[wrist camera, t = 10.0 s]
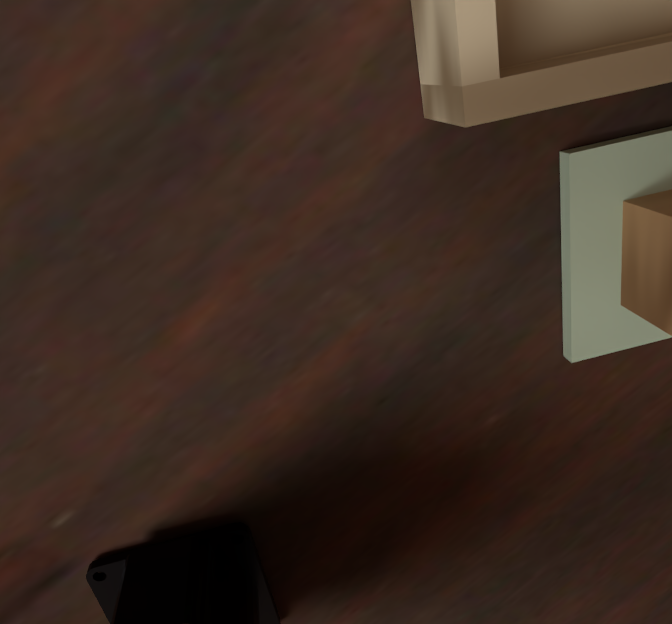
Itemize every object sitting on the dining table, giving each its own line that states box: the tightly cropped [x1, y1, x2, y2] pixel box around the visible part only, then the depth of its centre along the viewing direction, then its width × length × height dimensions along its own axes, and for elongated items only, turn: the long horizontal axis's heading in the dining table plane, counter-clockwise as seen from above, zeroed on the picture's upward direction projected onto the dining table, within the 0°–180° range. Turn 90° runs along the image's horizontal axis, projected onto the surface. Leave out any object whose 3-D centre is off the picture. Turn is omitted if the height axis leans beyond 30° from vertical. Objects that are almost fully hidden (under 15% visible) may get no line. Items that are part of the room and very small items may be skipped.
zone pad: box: [560, 126, 672, 363], centre depth 20 cm, size 8×8×1 cm
